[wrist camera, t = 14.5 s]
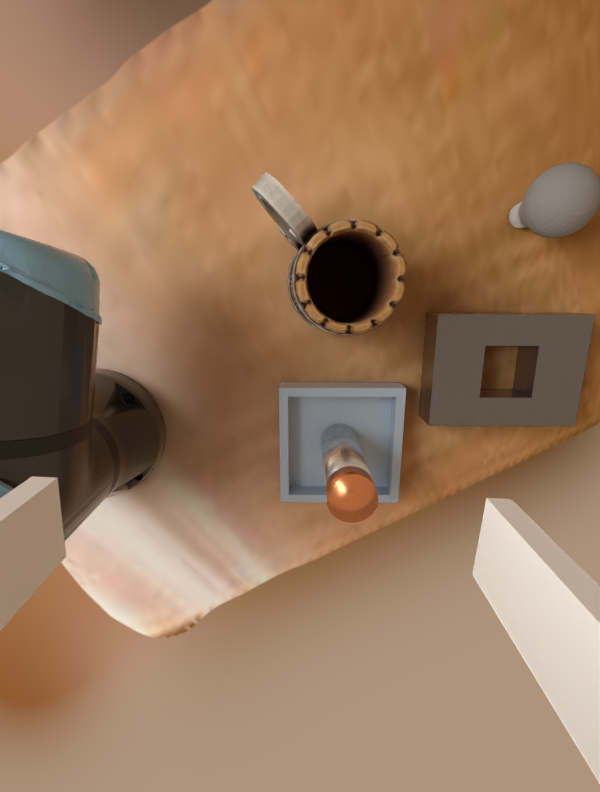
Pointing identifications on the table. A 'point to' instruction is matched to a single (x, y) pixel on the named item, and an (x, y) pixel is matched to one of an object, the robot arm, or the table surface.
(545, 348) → the hitch block
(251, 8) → the table surface
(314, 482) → the tray
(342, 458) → the pin
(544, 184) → the light bulb
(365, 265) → the mug
